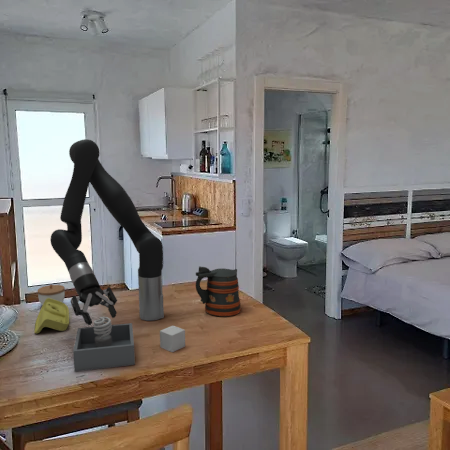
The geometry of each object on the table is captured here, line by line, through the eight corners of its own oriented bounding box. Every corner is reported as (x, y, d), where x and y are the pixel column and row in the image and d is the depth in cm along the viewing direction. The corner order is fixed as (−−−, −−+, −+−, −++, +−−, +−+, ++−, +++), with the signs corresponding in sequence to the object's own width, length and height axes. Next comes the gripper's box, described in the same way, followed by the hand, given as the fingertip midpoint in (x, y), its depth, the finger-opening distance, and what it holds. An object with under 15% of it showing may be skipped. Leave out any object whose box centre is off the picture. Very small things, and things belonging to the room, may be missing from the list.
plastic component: (69, 325, 167) (42, 317, 163) (61, 342, 168) (34, 335, 164) (68, 303, 185) (44, 296, 181) (61, 319, 186) (36, 312, 182)
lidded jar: (42, 312, 186) (41, 290, 184) (35, 305, 194) (34, 284, 192) (69, 307, 192) (67, 285, 190) (61, 300, 200) (59, 279, 199)
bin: (132, 340, 159) (132, 323, 158) (134, 364, 142) (134, 345, 141) (79, 346, 155) (77, 328, 154) (74, 371, 138) (73, 351, 137)
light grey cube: (160, 347, 154) (159, 330, 153) (173, 341, 158) (172, 325, 157) (172, 352, 150) (171, 335, 149) (185, 346, 155) (184, 329, 154)
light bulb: (96, 348, 150) (94, 314, 148) (113, 348, 151) (112, 313, 149) (93, 356, 145) (91, 321, 143) (111, 356, 145) (109, 320, 143)
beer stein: (206, 322, 175) (205, 272, 171) (189, 310, 187) (188, 263, 184) (247, 313, 185) (247, 265, 181) (228, 302, 197) (228, 257, 193)
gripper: (66, 277, 146) (85, 321, 140) (106, 268, 156) (125, 308, 150) (60, 289, 151) (78, 332, 145) (99, 280, 161) (118, 319, 154)
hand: (102, 320), depth 147 cm, fingers open, 8 cm apart
